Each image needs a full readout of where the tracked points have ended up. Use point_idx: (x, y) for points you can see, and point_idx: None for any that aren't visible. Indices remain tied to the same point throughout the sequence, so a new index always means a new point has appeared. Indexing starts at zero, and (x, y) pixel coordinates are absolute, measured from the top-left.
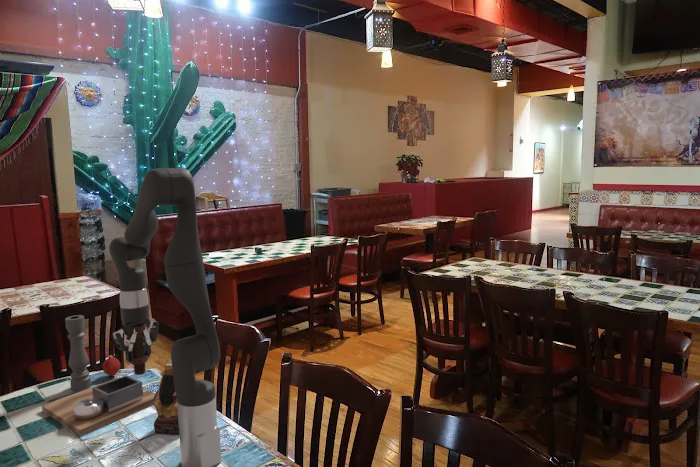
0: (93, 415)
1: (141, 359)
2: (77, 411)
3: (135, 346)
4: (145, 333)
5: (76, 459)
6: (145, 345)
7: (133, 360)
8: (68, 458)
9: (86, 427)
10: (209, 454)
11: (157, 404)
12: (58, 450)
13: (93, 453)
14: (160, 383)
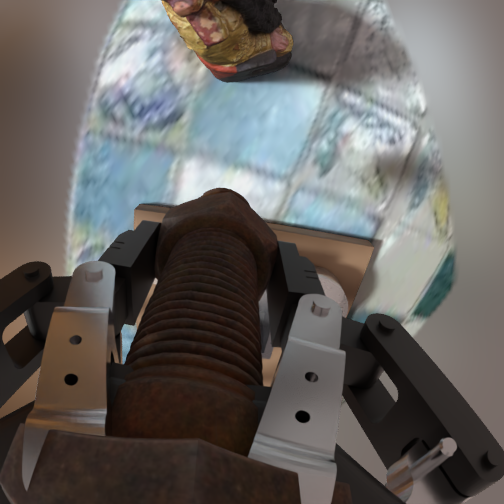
0: (323, 271)
1: (236, 206)
2: (346, 305)
3: (248, 317)
4: (82, 372)
5: (436, 165)
6: (128, 296)
7: (280, 246)
8: (437, 185)
9: (360, 244)
10: None
11: (289, 33)
12: (421, 232)
13: (412, 147)
14: (243, 37)
